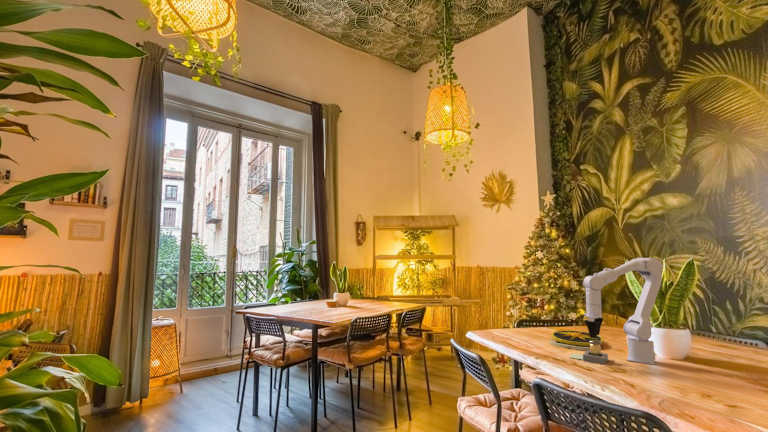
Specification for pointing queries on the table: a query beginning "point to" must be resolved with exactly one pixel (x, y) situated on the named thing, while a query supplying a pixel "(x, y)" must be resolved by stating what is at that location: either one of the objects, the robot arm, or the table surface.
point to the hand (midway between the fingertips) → (594, 336)
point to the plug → (595, 347)
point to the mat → (576, 356)
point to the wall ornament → (573, 339)
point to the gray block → (595, 358)
